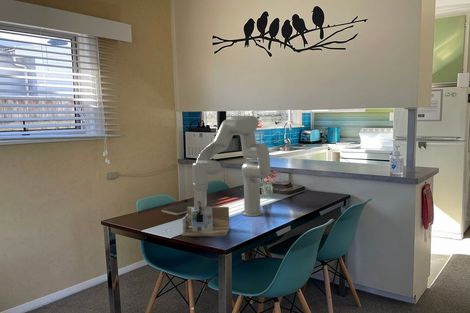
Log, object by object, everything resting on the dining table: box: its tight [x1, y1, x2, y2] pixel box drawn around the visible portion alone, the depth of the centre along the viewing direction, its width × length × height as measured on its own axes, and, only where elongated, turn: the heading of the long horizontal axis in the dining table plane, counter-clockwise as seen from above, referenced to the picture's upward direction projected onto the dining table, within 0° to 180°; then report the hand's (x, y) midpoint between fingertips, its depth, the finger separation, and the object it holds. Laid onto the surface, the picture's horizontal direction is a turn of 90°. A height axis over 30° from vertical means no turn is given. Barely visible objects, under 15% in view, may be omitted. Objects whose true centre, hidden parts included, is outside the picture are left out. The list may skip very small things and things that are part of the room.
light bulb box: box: [192, 206, 213, 232], centre depth 211 cm, size 11×7×11 cm, turn 99°
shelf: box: [181, 206, 230, 237], centre depth 212 cm, size 14×22×12 cm, turn 83°
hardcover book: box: [160, 202, 194, 216], centre depth 261 cm, size 16×23×2 cm
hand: (201, 219), depth 211 cm, fingers open, 9 cm apart
